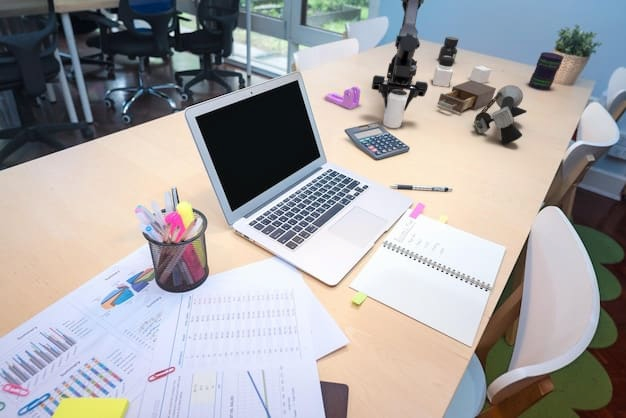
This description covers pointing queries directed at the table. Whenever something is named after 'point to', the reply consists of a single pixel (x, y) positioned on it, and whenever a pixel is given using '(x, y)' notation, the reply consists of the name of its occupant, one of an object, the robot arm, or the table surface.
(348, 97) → the bracket
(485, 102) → the organizer
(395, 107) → the can
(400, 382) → the table surface
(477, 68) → the white cube
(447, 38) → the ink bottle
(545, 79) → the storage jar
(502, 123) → the abstract shape sculpture
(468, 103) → the drawer
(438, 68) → the medicine bottle
